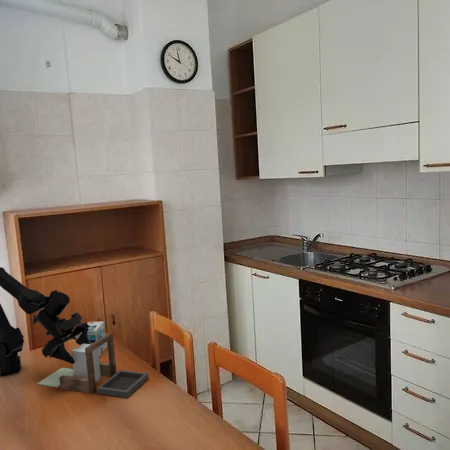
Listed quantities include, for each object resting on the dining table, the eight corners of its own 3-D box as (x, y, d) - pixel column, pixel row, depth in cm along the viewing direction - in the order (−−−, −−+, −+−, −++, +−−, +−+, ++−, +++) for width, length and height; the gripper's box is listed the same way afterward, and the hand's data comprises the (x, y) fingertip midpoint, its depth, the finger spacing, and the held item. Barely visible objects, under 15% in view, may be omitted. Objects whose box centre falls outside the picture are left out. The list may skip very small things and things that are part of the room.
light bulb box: (99, 357, 172) (96, 330, 170) (82, 358, 172) (79, 331, 170) (107, 346, 182) (104, 320, 181) (90, 347, 182) (88, 321, 181)
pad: (37, 384, 153) (37, 383, 152) (61, 369, 164) (61, 367, 164) (58, 387, 150) (57, 386, 150) (81, 371, 161) (81, 370, 161)
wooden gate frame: (60, 388, 149) (55, 345, 147) (85, 371, 161) (81, 330, 159) (93, 393, 144) (88, 348, 142) (116, 375, 156) (112, 333, 154)
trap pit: (97, 394, 144) (96, 388, 143) (120, 375, 156) (120, 369, 155) (127, 398, 140) (126, 392, 139) (148, 378, 152) (148, 373, 151)
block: (75, 384, 151) (71, 350, 149) (86, 376, 156) (82, 343, 155) (90, 387, 149) (86, 352, 147) (101, 378, 154) (97, 345, 153)
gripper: (44, 317, 143) (77, 353, 140) (82, 299, 160) (111, 331, 158) (28, 339, 147) (59, 375, 144) (66, 320, 164) (95, 351, 161)
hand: (83, 357), depth 152 cm, fingers open, 9 cm apart
